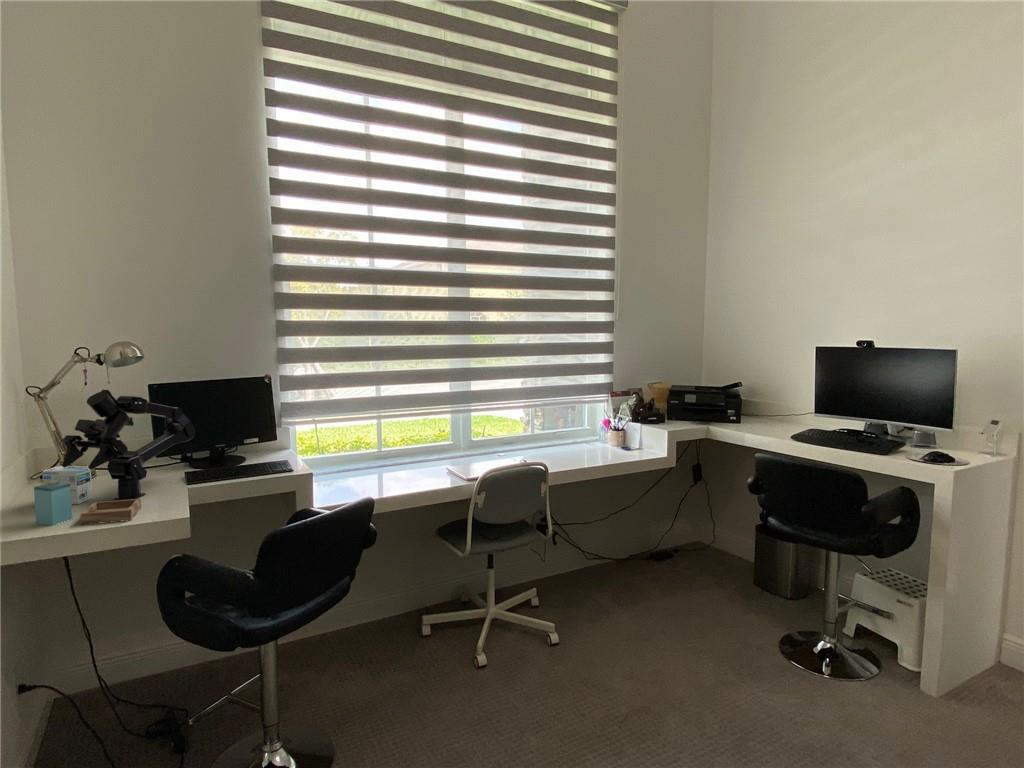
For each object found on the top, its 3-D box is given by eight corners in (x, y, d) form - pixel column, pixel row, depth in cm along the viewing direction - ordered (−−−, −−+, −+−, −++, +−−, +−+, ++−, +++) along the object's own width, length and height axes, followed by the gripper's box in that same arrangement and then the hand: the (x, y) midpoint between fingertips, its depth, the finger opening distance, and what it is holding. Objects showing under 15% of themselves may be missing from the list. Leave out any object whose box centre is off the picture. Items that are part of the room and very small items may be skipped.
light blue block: (55, 517, 169) (53, 478, 168) (72, 519, 168) (69, 480, 167) (36, 523, 164) (33, 483, 163) (53, 525, 163) (50, 485, 162)
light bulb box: (93, 498, 188) (91, 465, 187) (78, 504, 182) (76, 470, 181) (59, 498, 188) (57, 465, 187) (43, 504, 181) (41, 470, 180)
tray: (94, 512, 175) (94, 502, 174) (141, 508, 179) (140, 498, 179) (81, 524, 163) (80, 514, 163) (131, 520, 168) (130, 510, 167)
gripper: (68, 408, 178) (31, 448, 167) (120, 410, 175) (86, 451, 164) (91, 432, 186) (56, 472, 175) (141, 435, 182) (109, 476, 171)
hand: (76, 467), depth 171 cm, fingers open, 9 cm apart
